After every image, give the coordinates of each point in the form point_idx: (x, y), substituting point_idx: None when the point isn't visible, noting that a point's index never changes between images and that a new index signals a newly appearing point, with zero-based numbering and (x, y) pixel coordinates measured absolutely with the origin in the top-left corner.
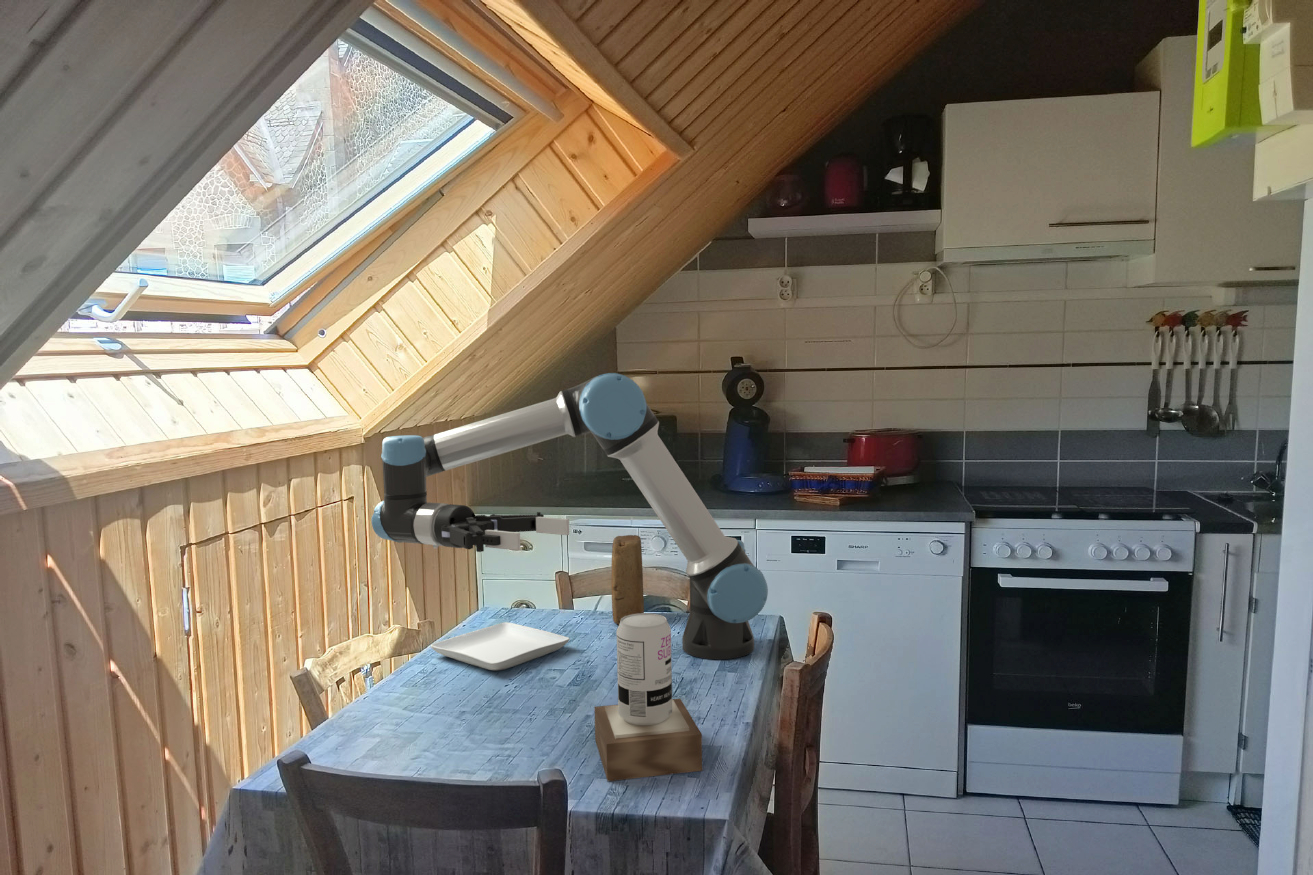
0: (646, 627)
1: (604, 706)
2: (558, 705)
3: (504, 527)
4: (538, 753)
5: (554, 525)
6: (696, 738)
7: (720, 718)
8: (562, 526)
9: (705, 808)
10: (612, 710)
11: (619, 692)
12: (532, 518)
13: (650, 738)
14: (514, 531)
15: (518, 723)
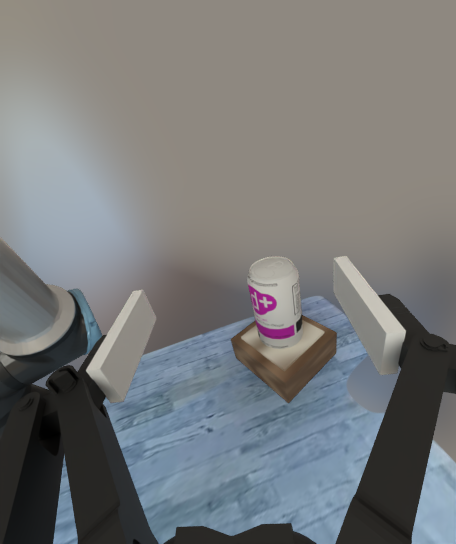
0: (286, 259)
1: (278, 376)
2: (233, 515)
3: (136, 510)
4: (348, 434)
5: (137, 327)
6: None
7: (202, 349)
8: (146, 310)
9: (316, 301)
10: (287, 359)
11: (298, 325)
12: (87, 392)
13: (305, 318)
14: (129, 475)
15: (312, 530)
